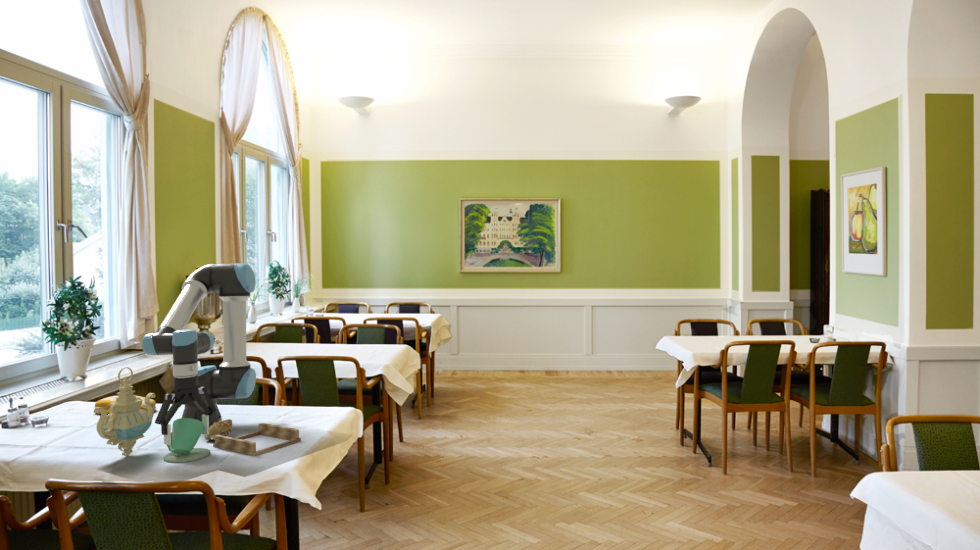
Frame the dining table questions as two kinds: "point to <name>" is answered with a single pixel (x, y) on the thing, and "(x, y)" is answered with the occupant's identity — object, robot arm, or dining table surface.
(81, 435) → the dining table surface
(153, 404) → the bread
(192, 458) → the coaster
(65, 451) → the dining table surface
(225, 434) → the seashell
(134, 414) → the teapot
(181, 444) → the mug
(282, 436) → the oak frame
